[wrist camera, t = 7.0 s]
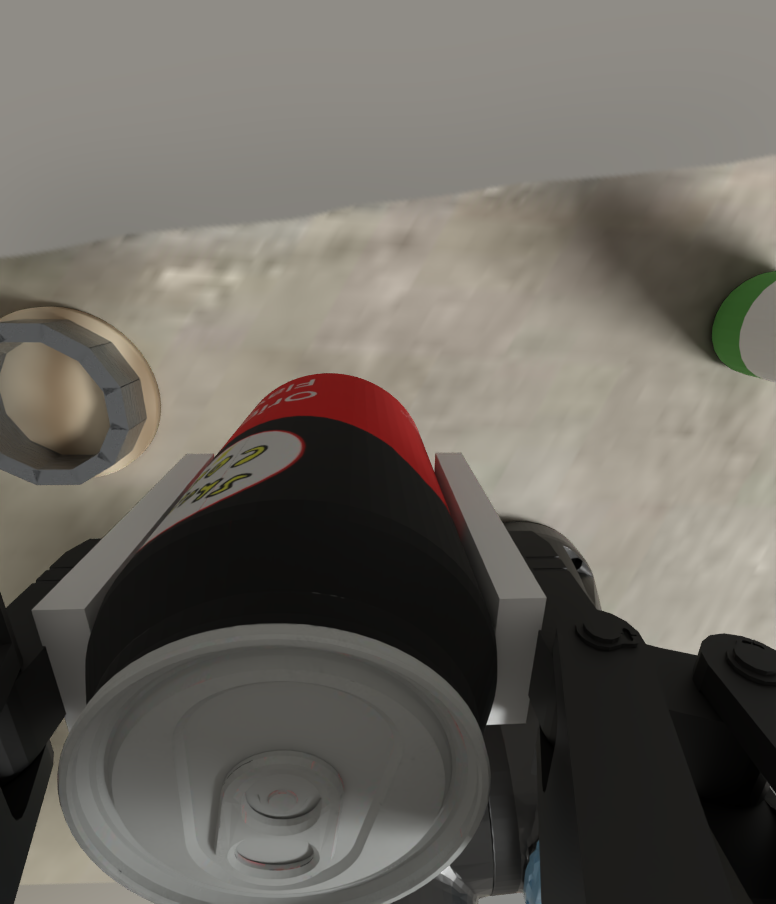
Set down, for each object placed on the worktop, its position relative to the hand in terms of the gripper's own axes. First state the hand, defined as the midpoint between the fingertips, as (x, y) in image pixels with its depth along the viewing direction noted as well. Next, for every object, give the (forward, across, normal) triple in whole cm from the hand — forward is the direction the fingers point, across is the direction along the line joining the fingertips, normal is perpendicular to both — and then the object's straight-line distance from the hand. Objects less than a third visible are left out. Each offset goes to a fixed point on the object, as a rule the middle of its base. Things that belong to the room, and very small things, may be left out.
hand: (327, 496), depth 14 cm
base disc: (+24, +21, +3) cm, 32 cm away
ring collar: (+24, +21, +3) cm, 32 cm away
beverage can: (+4, 0, 0) cm, 4 cm away
